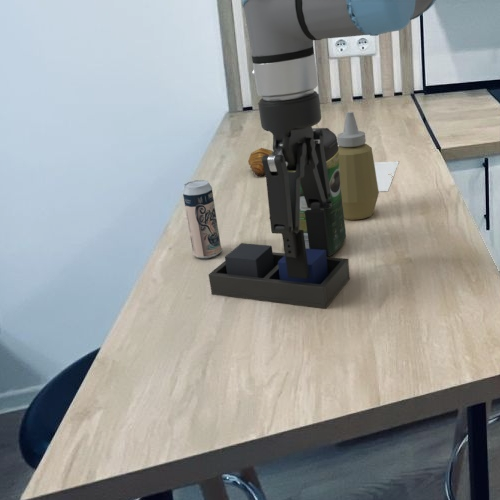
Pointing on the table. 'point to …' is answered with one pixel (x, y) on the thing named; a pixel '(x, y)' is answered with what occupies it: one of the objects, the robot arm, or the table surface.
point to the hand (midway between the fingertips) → (309, 265)
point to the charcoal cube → (250, 260)
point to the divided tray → (282, 285)
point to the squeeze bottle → (356, 172)
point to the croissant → (258, 160)
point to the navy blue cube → (315, 267)
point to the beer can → (202, 219)
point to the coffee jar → (336, 211)
